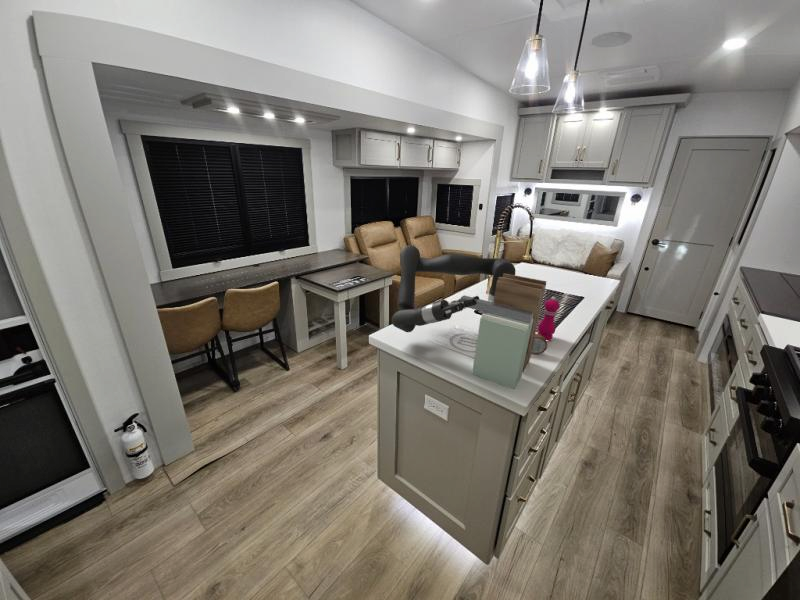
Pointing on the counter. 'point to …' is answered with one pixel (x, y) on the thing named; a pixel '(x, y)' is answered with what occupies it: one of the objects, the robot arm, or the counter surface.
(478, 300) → the bar
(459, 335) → the counter surface
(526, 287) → the walnut post
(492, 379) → the sage green box
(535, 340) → the tin
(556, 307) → the pepper mill
